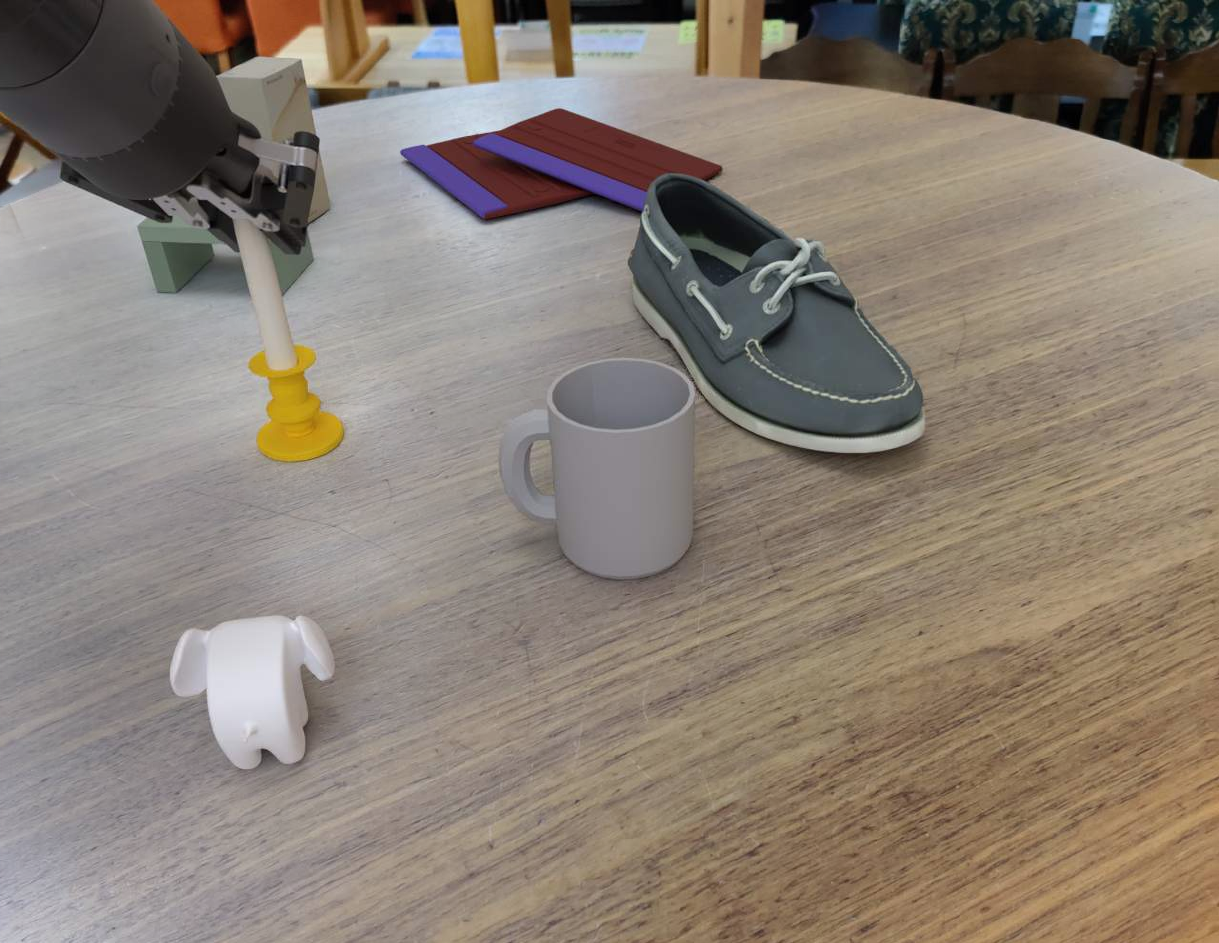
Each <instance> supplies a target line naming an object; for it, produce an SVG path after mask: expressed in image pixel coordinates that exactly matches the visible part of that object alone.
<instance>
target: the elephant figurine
mask: <svg viewBox="0 0 1219 943" xmlns="http://www.w3.org/2000/svg"><path fill="white" fill-rule="evenodd" d="M335 664H336V663H335V658H334V654H333V651H332V648H331V646H330V643H329V641H328V639H327V636H326V634H325V633H324V631H323V629H322V628H321V626H319V624H318V623H317V622H315V621H314V620H313V619H311V618H310V617H308V616H305V615H296V617H295V619H292V618H289V617H288V616H286V615H281V614H275V615H264V616H256V617H249V618H238V619H232V620H231V619H230V620H227V621H226V620H225V621H222V622H220V623H218V624H217V625H216V626H215V627H213V628H210V629H207V630H205V629H199V628H196V627H195V628H194V627H191V628H188V629H187V630H186V631H184V632H183V634H182V635H181V636H180V638H179V640H178V642H177V644H176V647H175V649H174V652H173V655H172V659H171V662H170V667H169V683H170V687H171V688H172V691H173V692H174V693H175V695H176V696H178V697H181V698H188V697H195V696H198V695H200V694H201V693H203V692H204V691H205V690H206V692H205V693H206V702H207V711H208V717H209V722H210V726H211V729H212V732H213V735H214V737H215V738H214V739H215V740H216V742H217V744H218V746H219V747H220V749H221V750H222V752H223V753H224V754H225V756H226V757H227V759H228V760H229V762H231V764H233V765H234V766H235V767H236V768H238V769H240V770H247V771H248V770H253V769H255V768H257V767H258V766H259V765H260V764H261V762H262V758H263V756H262V749H264V750H267V751H269V752H270V753H271V754H273V755H274V756H275V757H276V759H277V760H278V761H279V762H280V763H281V764H284V765H292V764H295V763H297V762H300V761H301V760H302V759H303V758H304V755H305V753H306V736H305V732H304V727H305V726H306V725H307V723H308V721H309V710H308V709H309V708H308V704H307V699H306V696H305V695H306V694H305V691H304V685H303V679H302V670H301V667H302V665H305V668H306V669H308V671H309V672H310V673H311V674H313V675H314V676H315V678H317V679H318V680H319V681H322V682H323V681H326V680H330V679H332V678H333V676H334V674H335V669H336V665H335Z"/></svg>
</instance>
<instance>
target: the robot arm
mask: <svg viewBox="0 0 1219 943" xmlns="http://www.w3.org/2000/svg"><path fill="white" fill-rule="evenodd" d="M216 76H217V75H216V73H215V72H214V70H213V68H212V67H211V65H210V64H209V62H208V61H207V60H206V59H205V58H204V56H203V55H201V53H200V52H199V51H198V49H196V47H194V45H193V44H192V43H191V42H190V41H189V40H188V39H187V37H186V36H185V35H184V34H183V33H182V32H181V31H180V29H179V28H178V27H177V26H176V24H174V22H173V21H172V20H171V19H170V17H168V16H167V14H166V13H165V12H164V11H163V10H162V9H161V8H160V7H159V6H158V4H157V3H156V2H155V1H154V0H0V113H1V115H3V116H5V117H6V118H7V119H8V120H9V121H11V122H12V123H13V124H15V125H16V126H17V127H19V128H20V129H21V130H22V131H24V132H25V133H26V134H27V135H29V136H30V137H31V138H33V139H34V140H36V141H37V142H38V143H39V144H40V145H41V146H43V147H44V148H46V149H47V150H48V151H49V152H51V153H52V154H54V155H55V156H56V157H57V158H59V159H60V160H61V161H60V163H61V166H60V174H59V178H60V179H61V180H62V181H63V182H65V183H66V184H69V185H71V186H73V187H76V188H79V189H81V190H83V191H86V192H88V193H90V194H92V195H95V196H97V197H100V198H102V199H103V200H106V201H108V202H110V203H113V204H116V205H118V206H120V207H122V208H125V209H126V210H129V211H132V212H134V213H136V214H138V215H141V216H143V217H145V218H150V219H152V220H154V221H156V222H159V223H171V222H172V220H173V216H180V217H181V218H182V219H183V220H184V221H185V222H186V223H187V224H188V225H190V226H192V227H194V228H196V229H207V230H208V231H209V232H210V233H211V234H213V235H214V236H215V237H216V238H217V239H218V240H220V241H222V242H224V243H225V244H224V245H226V246H228V247H229V248H230V249H231V250H232V251H234V253H239V254H240V250H239V246H238V242H237V238H236V233H235V229H234V224H233V219H248V220H249V221H250V222H252V223H253V224H254V225H255V226H257V227H258V228H260V231H261V232H262V233H263V234H264V235H266V236H267V237H268V238H269V239H270V240H271V241H272V242H273V243H274V244H275V245H276V246H277V247H278V248H279V249H281V250H282V251H283V252H284V253H285V254H289V255H299V254H300V252H301V247H305V245H306V236H307V229H308V227H309V223H308V217H309V212H310V208H311V203H312V198H313V193H314V187H315V178H316V169H317V161H318V152H319V150H320V142H321V139H320V137H319V136H318V135H317V134H316V135H317V136H316V135H314V134H312V133H309V132H304V131H299V132H296V133H294V137H293V143H292V142H291V141H287V140H286V141H283V143H278V142H274V141H270V140H266V139H262V137H261V134H260V132H259V130H258V129H257V128H256V127H255V126H254V125H253V124H252V123H251V122H249V121H247V120H245V119H243V118H241V117H240V116H238V115H236V114H235V113H234V112H232V111H231V109H230V107H229V105H228V103H227V100H226V98H225V95H224V93H223V90H222V88H221V86H220V83H219V81H218V79H217V77H216Z"/></svg>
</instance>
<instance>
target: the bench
mask: <svg viewBox="0 0 1219 943" xmlns="http://www.w3.org/2000/svg"><path fill="white" fill-rule="evenodd" d="M136 227H137V231H138V234H139V237H140V241H141V244H142V247H143V250H144V253H145V257H146V260H147V263H148V266H149V269H150V270H149V271H150V273H151V276H152V280H153V282H154V283H153V284H154V286H155V289H156V292H157V293H169V294H170V293H171V294H172V293H173V294H177V293H178V292H179V291H180V290H181V289H182V288H183V287H184V286H185V285H186V284H187V283H188V282H189V281H190V280H191V279H192V278H193V277H194V276H196V274H198V272H199V271H200V270H201V269H203V267H205V266H206V264H208V263H209V262H210V261H211V260H212V259H213V258H214V257H215V255H216V254H215V250H214V247H213V245H226V244H225V243H224V242H222V241H220V240H218V239H217V238H216V237H215V236H214V235H213V234H211V233H210V232H209V231H208V230H207V229H196V228H194V227H192V226H190V225H188V224H187V223H186V222H185V221H184V220H183V219H182V218H181V217H180V216H173V220H172V222H171V223H159V222H156V221H154V220H152V219H150V218H147V217H145V218H144V220H141V222H140V223H138V224H137V225H136ZM310 239H311V238H310V234H309V230H308V228H307V236H306V245H305V247H301V252H300V254H299V255H289V254H285V253H284V252H283V251H282V250H281V249H279V248H278V247H277V246H276V245H275V244H274V243H273V242H272V241H271V240H270V239H269V238H268V241H269V245H270V249H271V253H272V257H273V262H274V266H275V270H276V274H277V278H278V282H279V286H280V291H281V295H282V296H283V295H284V294H285V293H286V292H287V291H288V290H289V288H290V287H291V286H292V285H293V284H294V283H295V281H296V280H297V279H299V277H300V276H301V275H302V274H303V273H304V271H305V270H306V269H307V268H308V266H309V265H311V263H312V262H313V261H314V253H313V249H312V245H311V244H312V243H311V240H310Z"/></svg>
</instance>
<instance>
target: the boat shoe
mask: <svg viewBox="0 0 1219 943" xmlns="http://www.w3.org/2000/svg"><path fill="white" fill-rule="evenodd" d="M638 228H639V229H638V232H637V236H636V240H635V244H634V246H633V248H632V249H631V251H630V254H629V256H628V259H627V266H628V268H629V270H630V272H631V273H632V279H631V280H632V281H631V282H632V285H631V292H632V301H633V303H634V305H635V308H636V309H637V311H638V312H639V313H640V314H641V316H642V317H643V318H644V320H645V321H646V322H647V323H648V324H649V325H650V326H651V327H652V328H653V330H654V331H655V332H656V333H657V335H658V336H659V337H660V338H662V339H665V340H668V341H670V343H671V344H672V346H673V347H674V349H675V350H676V351H677V353H678V355H679V356H680V358H681V360H682V361H683V363H684V365H685V367H686V368H687V370H688V373H689V374H690V376H691V377H692V379H693V381H694V382H695V384H696V386H697V388H698V389H699V391H700V392H701V394H702V395H703V396H704V397H705V399H706V400H707V401H708V403H709V404H710V405H712V407H713V408H715V409H716V410H717V411H718V412H719V413H721V414H722V415H723V416H725V417H726V418H727V419H729V420H730V421H732V422H734V423H735V424H737V425H739V426H741V427H742V428H743V429H746V430H748V431H750V432H752V433H754V434H756V435H758V436H761V437H764V438H766V439H769V440H773V441H775V442H778V443H782V444H784V445H789V446H793V447H796V448H797V447H798V448H801V449H806V450H813V451H818V452H827V453H837V454H839V453H841V454H868V453H869V454H870V453H876V452H877V453H878V452H885V451H889V450H892V449H893V450H894V449H897V448H899V447H900V448H901V447H903V446H906V445H909V444H911V443H912V442H915V441H917V440H918V439H920V438H921V437H922V436H923V435H924V433H925V431H926V412H925V409H924V407H923V405H924V393H923V391H922V387H921V386H920V384H919V382H918V380H917V379H916V378H915V376H914V374H913V372H912V369H911V367H910V366H909V365H908V363H907V362H906V360H905V359H904V358H903V357H902V356H901V354H899V352H898V351H897V349H895V347H893V345H891V344H890V343H889V342H888V341H887V340H886V339H885V337H884V336H883V335H882V334H881V333H879V332H880V331H878V330H877V329H876V327H875V326H874V325H873V324H871V322H870V321H869V320H868V319H867V317H866V316H865V314H864V312H863V310H862V308H860V307H859V304H860V303H859V300H858V299H857V298H856V296H855V295H853V294H852V293H851V292H850V290H849V289H848V288H847V286H846V285H845V283H844V281H843V279H842V278H841V277H840V275H839V274H838V272H837V271H836V270H835V268H834V267H833V266H832V264H831V263H830V262H829V260H828V259H827V257H826V247H825V245H824V243H822V242H821V241H818V240H813V239H807V240H806V239H805V238H803V237H796V238H795V239H794V240H793V239H792V238H791V237H789V236H788V235H787V234H786V233H785V232H784V231H782V230H780V229H779V228H778V227H777V226H776V225H774V224H773V223H771V222H770V221H769V220H768V219H765V218H763V217H762V216H760V215H759V214H757V213H756V212H755V211H753V210H751V209H750V208H749V207H747V206H746V205H744V204H743V203H741V202H740V201H738V200H737V199H735V198H734V197H733V196H731V195H730V194H728V193H727V192H725V191H723V190H722V189H720V188H719V187H717V186H715V185H713V184H711V183H709V182H707V181H704V180H701V179H699V178H696V177H693V176H689V175H685V174H674V173H670V174H664V175H661V176H660V177H658V178H657V179H655V180H654V181H653V182H652V183H651V185H650V186H649V188H648V190H647V194H646V197H645V202H644V208H643V211H641V213H640V218H639V227H638Z"/></svg>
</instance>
